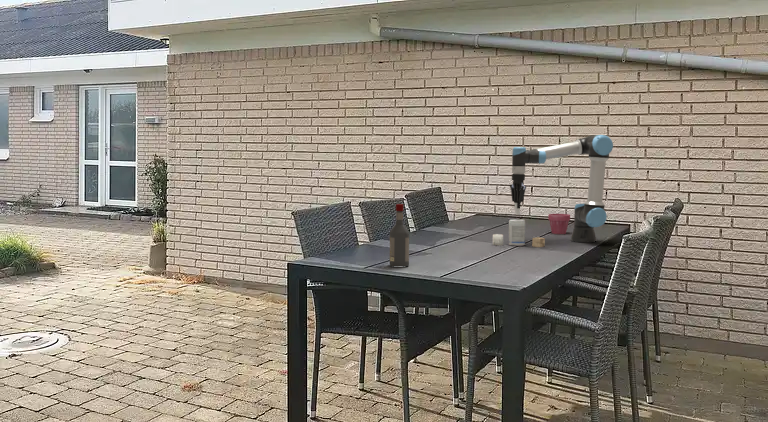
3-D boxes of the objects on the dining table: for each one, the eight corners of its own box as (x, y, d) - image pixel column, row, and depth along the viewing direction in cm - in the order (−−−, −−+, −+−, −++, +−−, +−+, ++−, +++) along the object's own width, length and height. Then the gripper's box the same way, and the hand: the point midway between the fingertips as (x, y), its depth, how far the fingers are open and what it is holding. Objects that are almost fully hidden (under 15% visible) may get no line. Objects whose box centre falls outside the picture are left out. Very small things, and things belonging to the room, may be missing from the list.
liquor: (407, 264, 352) (408, 203, 349) (409, 267, 342) (409, 205, 340) (389, 264, 351) (389, 203, 348) (390, 267, 342) (390, 205, 339)
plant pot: (552, 231, 484) (553, 212, 483) (572, 233, 476) (573, 214, 475) (544, 233, 473) (545, 214, 471) (564, 235, 464) (565, 215, 463)
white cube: (498, 243, 424) (499, 233, 424) (504, 245, 419) (505, 235, 418) (490, 244, 422) (490, 234, 421) (496, 245, 416) (496, 235, 416)
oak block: (537, 245, 418) (537, 237, 418) (544, 246, 415) (544, 238, 414) (532, 246, 415) (532, 238, 415) (539, 247, 411) (539, 238, 411)
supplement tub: (528, 245, 419) (529, 220, 417) (516, 246, 414) (517, 221, 412) (516, 243, 427) (517, 218, 425) (505, 244, 422) (505, 219, 420)
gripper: (506, 173, 420) (505, 213, 423) (520, 174, 409) (518, 215, 411) (516, 173, 424) (515, 212, 426) (530, 174, 412) (529, 214, 414)
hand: (517, 213), depth 418 cm, fingers closed
